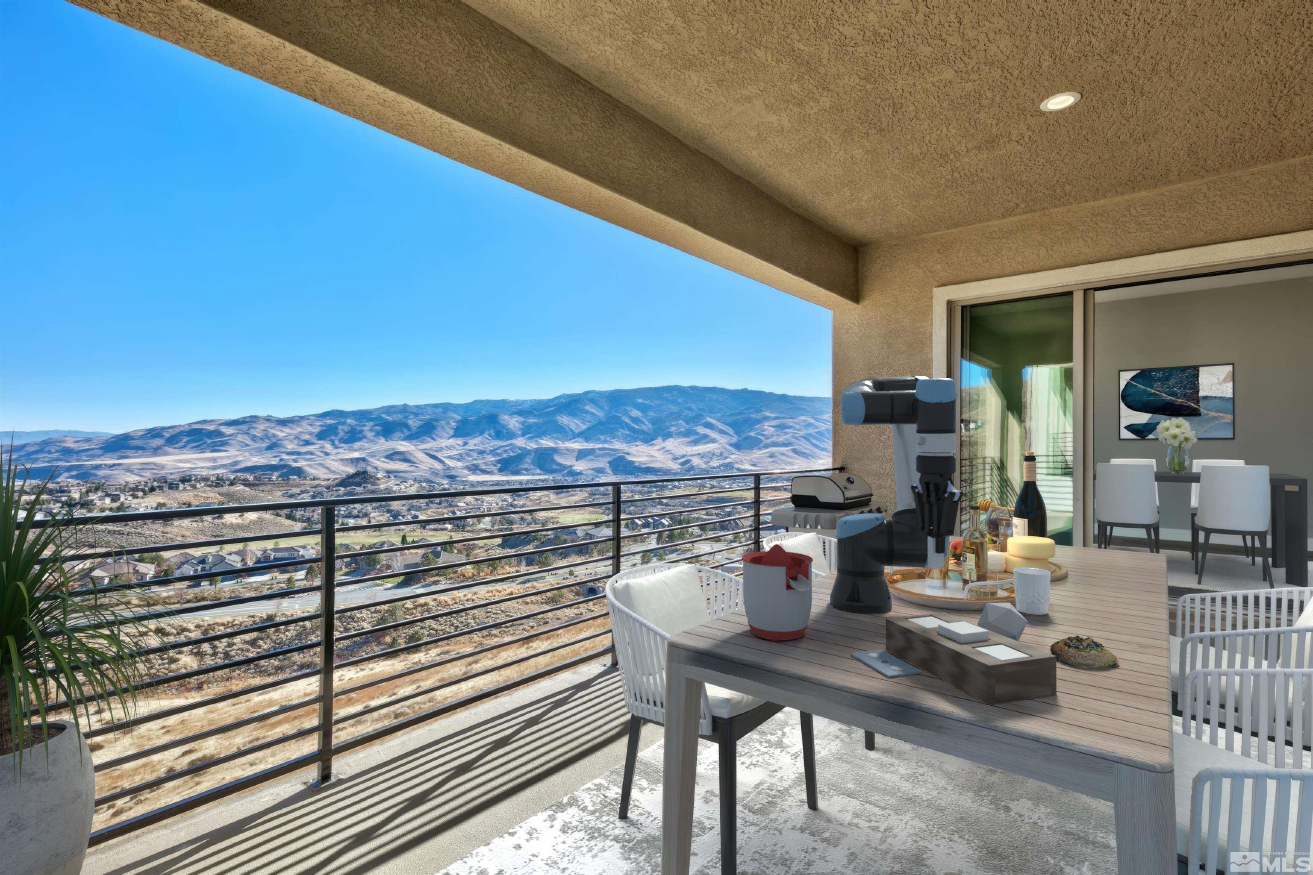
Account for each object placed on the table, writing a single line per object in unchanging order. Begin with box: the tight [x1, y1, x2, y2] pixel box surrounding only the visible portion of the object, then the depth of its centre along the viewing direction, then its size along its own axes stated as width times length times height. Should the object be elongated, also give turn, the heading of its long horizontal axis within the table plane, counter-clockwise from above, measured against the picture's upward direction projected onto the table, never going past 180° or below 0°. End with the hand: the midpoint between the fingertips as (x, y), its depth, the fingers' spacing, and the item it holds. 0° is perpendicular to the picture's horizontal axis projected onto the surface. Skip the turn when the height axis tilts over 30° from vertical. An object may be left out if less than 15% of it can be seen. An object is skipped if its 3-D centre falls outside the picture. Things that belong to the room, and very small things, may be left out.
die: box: [976, 602, 1029, 642], centre depth 134 cm, size 8×9×10 cm
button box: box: [885, 612, 1057, 706], centre depth 117 cm, size 27×14×6 cm, turn 16°
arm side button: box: [907, 616, 947, 628], centre depth 126 cm, size 6×6×3 cm
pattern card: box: [850, 649, 922, 679], centre depth 121 cm, size 12×7×1 cm, turn 16°
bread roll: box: [1049, 634, 1120, 669], centre depth 122 cm, size 11×11×5 cm
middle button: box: [938, 621, 989, 643], centre depth 117 cm, size 6×6×3 cm
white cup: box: [1013, 566, 1052, 616], centre depth 155 cm, size 8×8×10 cm
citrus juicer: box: [741, 543, 814, 642], centre depth 139 cm, size 16×17×20 cm
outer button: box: [974, 645, 1030, 661], centre depth 109 cm, size 6×6×3 cm
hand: (935, 567), depth 130 cm, fingers closed
